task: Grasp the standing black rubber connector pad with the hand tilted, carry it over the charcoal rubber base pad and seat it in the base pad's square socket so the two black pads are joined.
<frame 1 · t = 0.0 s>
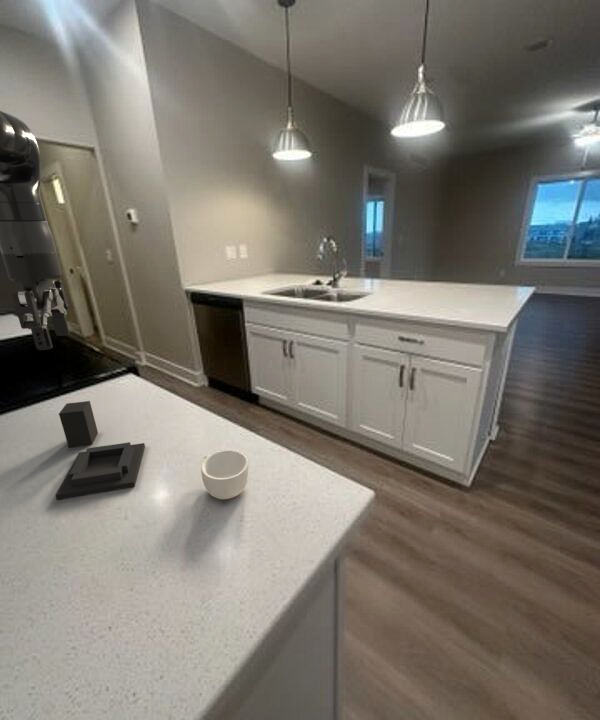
hand: (54, 341, 64), 22 cm above the counter, tool pointing down, fingers open, 8 cm apart
teacup: (223, 487, 60), on the counter
base pad: (105, 470, 64), on the counter
connector pad: (83, 440, 73), on the counter
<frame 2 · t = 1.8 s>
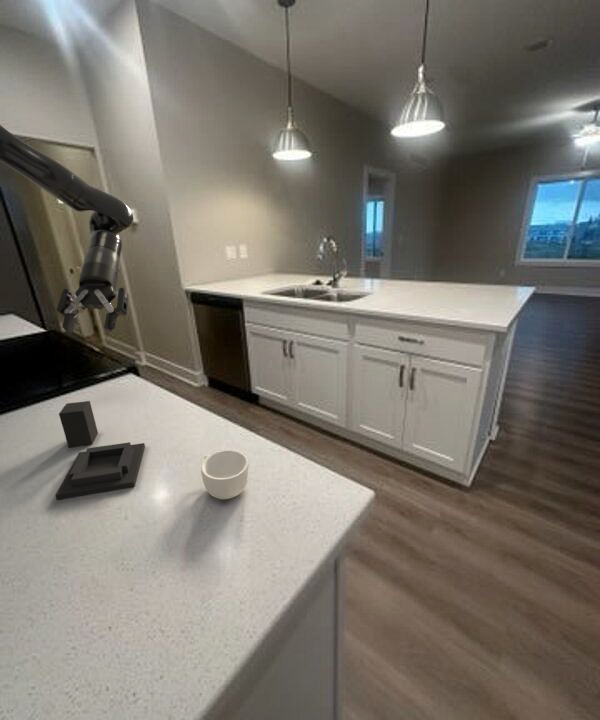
hand: (88, 330, 76), 21 cm above the counter, tool tilted 45°, fingers open, 8 cm apart
nothing on the counter moved.
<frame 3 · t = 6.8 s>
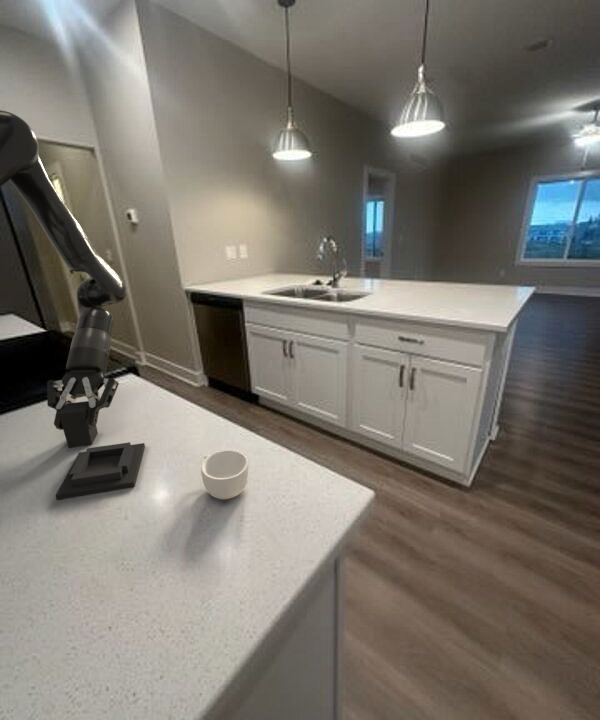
hand: (74, 427, 70), 4 cm above the counter, tool tilted 45°, fingers closed on connector pad, 5 cm apart
connector pad: (83, 440, 73), on the counter, touching gripper
everything else where it was.
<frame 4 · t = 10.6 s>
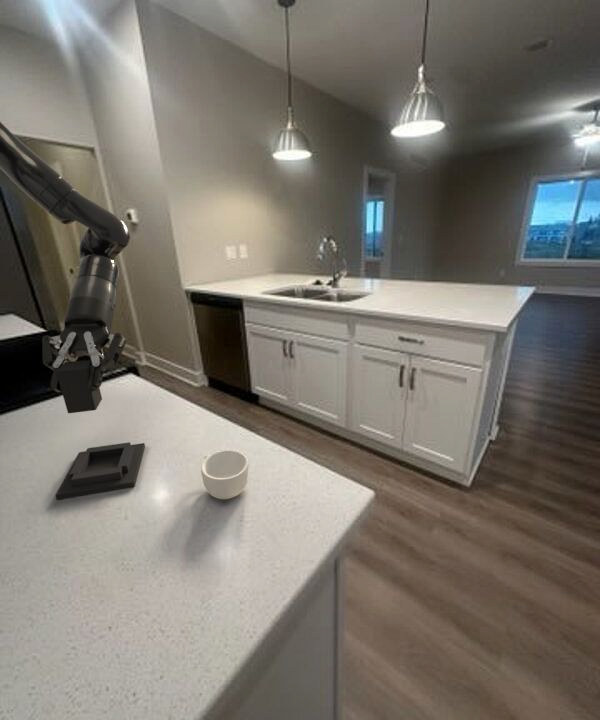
hand: (75, 389, 59), 16 cm above the counter, tool tilted 45°, fingers closed on connector pad, 5 cm apart
connector pad: (85, 406, 62), point 12 cm above the counter, touching gripper
everything else where it was.
when the fingers open (5 cm above the counter, at t = 14.6 s): connector pad stays where it is, resting on base pad.
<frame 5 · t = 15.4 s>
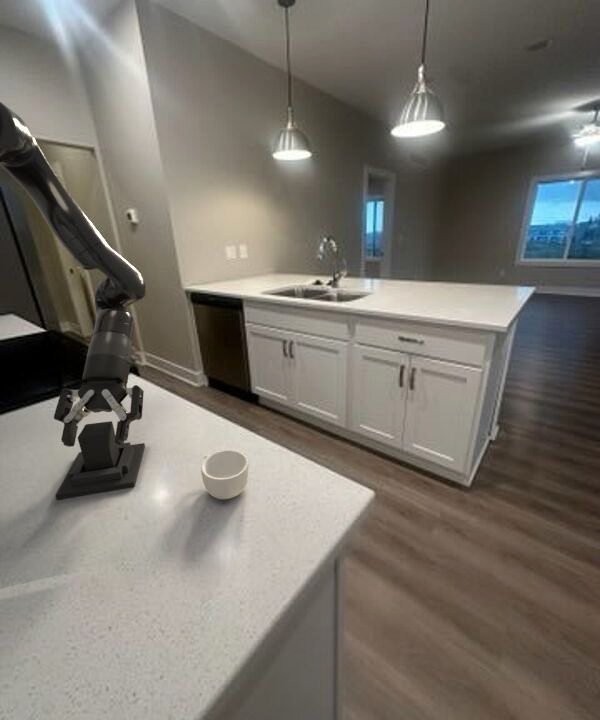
hand: (94, 444, 60), 7 cm above the counter, tool tilted 45°, fingers open, 8 cm apart
connector pad: (104, 466, 63), point 1 cm above the counter, touching base pad
everything else where it was.
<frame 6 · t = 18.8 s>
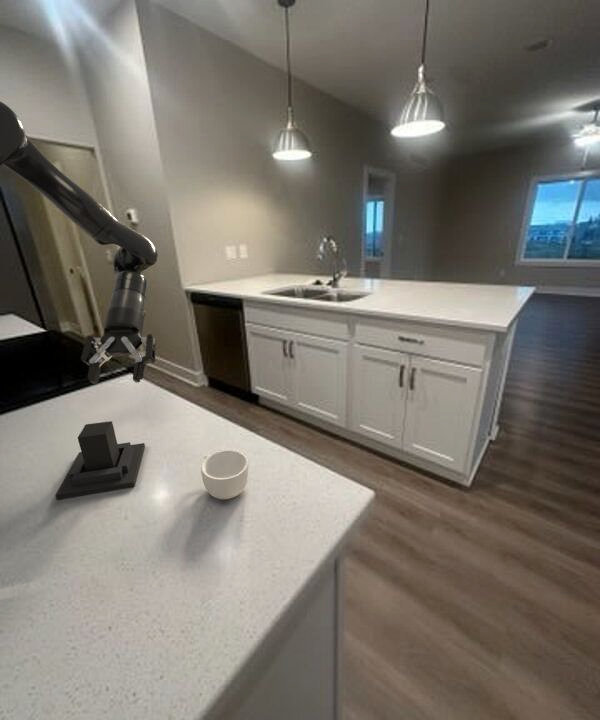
hand: (115, 381, 71), 12 cm above the counter, tool tilted 45°, fingers open, 8 cm apart
nothing on the counter moved.
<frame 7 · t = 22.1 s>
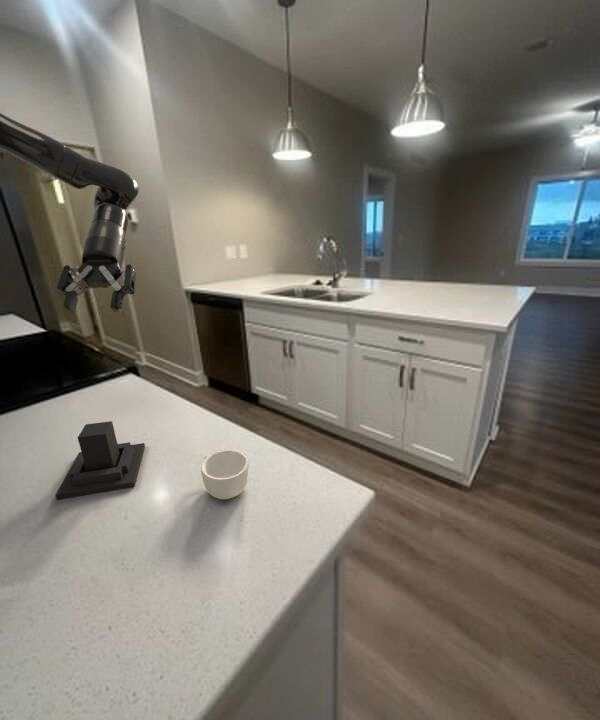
hand: (92, 310, 69), 27 cm above the counter, tool tilted 45°, fingers open, 8 cm apart
nothing on the counter moved.
at the end: connector pad 0.1 cm off-centre on the base pad, point 1.0 cm above the base pad's base; connector pad tilted 0°; the gripper is holding nothing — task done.
